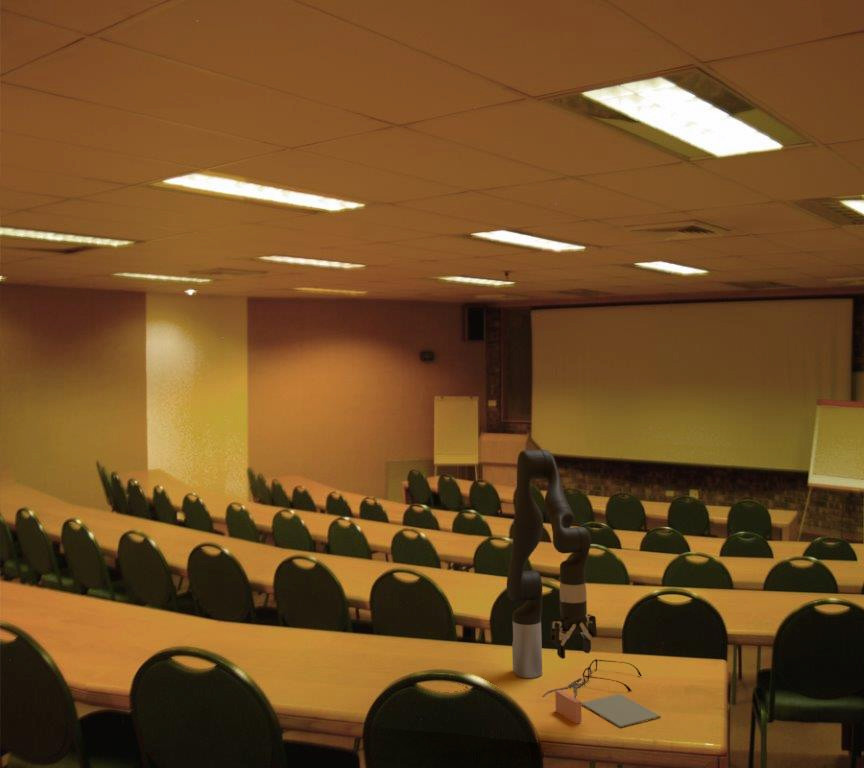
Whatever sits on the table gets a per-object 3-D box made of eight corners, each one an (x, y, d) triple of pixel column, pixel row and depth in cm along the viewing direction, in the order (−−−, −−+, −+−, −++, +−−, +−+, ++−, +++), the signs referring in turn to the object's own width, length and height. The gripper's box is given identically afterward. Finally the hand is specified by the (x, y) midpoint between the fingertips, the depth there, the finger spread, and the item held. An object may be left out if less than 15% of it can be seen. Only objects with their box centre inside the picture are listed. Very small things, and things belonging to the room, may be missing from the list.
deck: (555, 711, 233) (555, 690, 233) (560, 710, 234) (560, 689, 234) (576, 724, 224) (575, 702, 224) (581, 723, 225) (581, 701, 225)
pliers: (540, 697, 242) (560, 674, 260) (540, 700, 242) (560, 677, 260) (571, 702, 238) (589, 679, 256) (571, 705, 238) (590, 681, 256)
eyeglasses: (595, 669, 266) (595, 657, 266) (643, 676, 259) (643, 663, 259) (580, 686, 252) (580, 673, 252) (630, 694, 244) (630, 681, 244)
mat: (581, 704, 237) (581, 702, 237) (619, 695, 243) (619, 693, 243) (620, 728, 221) (620, 726, 221) (660, 717, 227) (660, 715, 227)
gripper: (585, 591, 235) (586, 647, 235) (544, 598, 228) (545, 655, 229) (601, 597, 228) (602, 654, 228) (560, 605, 222) (561, 663, 222)
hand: (574, 655), depth 228 cm, fingers open, 8 cm apart
